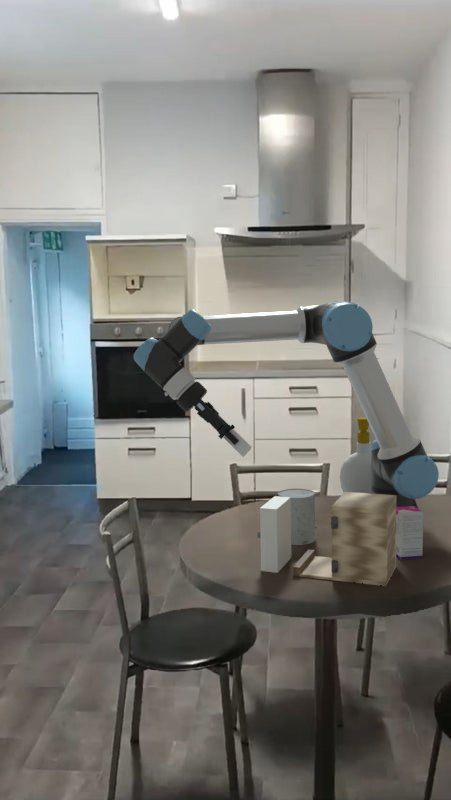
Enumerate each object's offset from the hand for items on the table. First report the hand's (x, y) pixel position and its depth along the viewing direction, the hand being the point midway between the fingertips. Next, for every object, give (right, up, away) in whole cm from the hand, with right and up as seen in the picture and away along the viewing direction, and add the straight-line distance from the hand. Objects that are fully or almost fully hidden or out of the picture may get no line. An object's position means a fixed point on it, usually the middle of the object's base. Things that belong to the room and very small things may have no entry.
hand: (247, 452), depth 196 cm
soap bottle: (+36, -18, +47) cm, 62 cm away
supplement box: (+39, -25, -1) cm, 46 cm away
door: (+7, -26, -5) cm, 28 cm away
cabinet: (+22, -27, -12) cm, 36 cm away
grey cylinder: (+13, -24, +13) cm, 30 cm away
